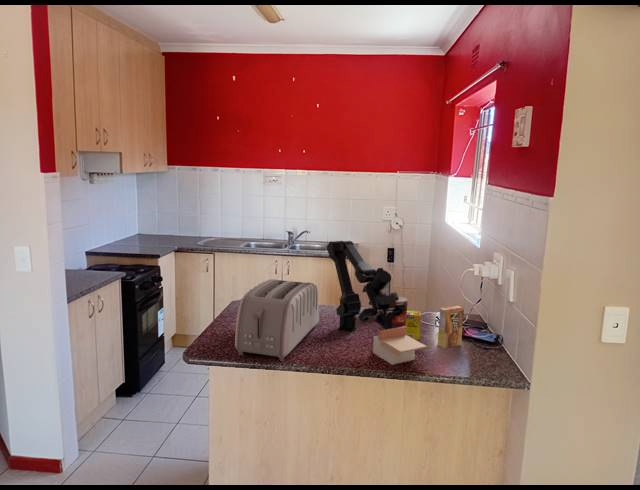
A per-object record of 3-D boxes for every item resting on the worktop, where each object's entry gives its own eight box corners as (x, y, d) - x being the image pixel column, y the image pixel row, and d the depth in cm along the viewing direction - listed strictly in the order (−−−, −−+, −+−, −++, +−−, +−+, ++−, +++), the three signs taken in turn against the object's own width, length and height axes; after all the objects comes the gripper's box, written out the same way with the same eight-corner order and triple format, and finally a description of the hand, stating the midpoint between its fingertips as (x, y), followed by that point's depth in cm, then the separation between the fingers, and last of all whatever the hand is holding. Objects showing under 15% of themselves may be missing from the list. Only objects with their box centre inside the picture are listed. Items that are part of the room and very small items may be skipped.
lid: (378, 344, 174) (379, 330, 173) (403, 339, 179) (404, 326, 178) (400, 357, 162) (401, 343, 161) (426, 352, 168) (427, 337, 167)
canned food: (408, 321, 215) (410, 298, 213) (402, 326, 208) (403, 302, 206) (393, 318, 219) (394, 295, 217) (386, 323, 212) (387, 299, 210)
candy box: (454, 341, 191) (456, 305, 189) (461, 345, 188) (464, 308, 185) (436, 345, 188) (439, 307, 185) (444, 348, 184) (446, 311, 181)
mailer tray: (373, 352, 179) (373, 336, 178) (394, 348, 183) (395, 332, 182) (392, 365, 168) (392, 347, 167) (414, 360, 173) (415, 343, 172)
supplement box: (419, 341, 191) (421, 315, 189) (404, 340, 192) (405, 314, 190) (419, 336, 196) (421, 311, 194) (404, 335, 198) (406, 310, 196)
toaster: (228, 359, 171) (227, 299, 167) (275, 320, 213) (275, 271, 209) (283, 367, 165) (284, 305, 161) (321, 326, 207) (322, 276, 203)
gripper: (363, 288, 173) (380, 326, 166) (404, 283, 182) (422, 319, 174) (352, 303, 181) (366, 340, 174) (391, 297, 190) (407, 332, 182)
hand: (391, 332), depth 176 cm, fingers closed, pressing on lid
